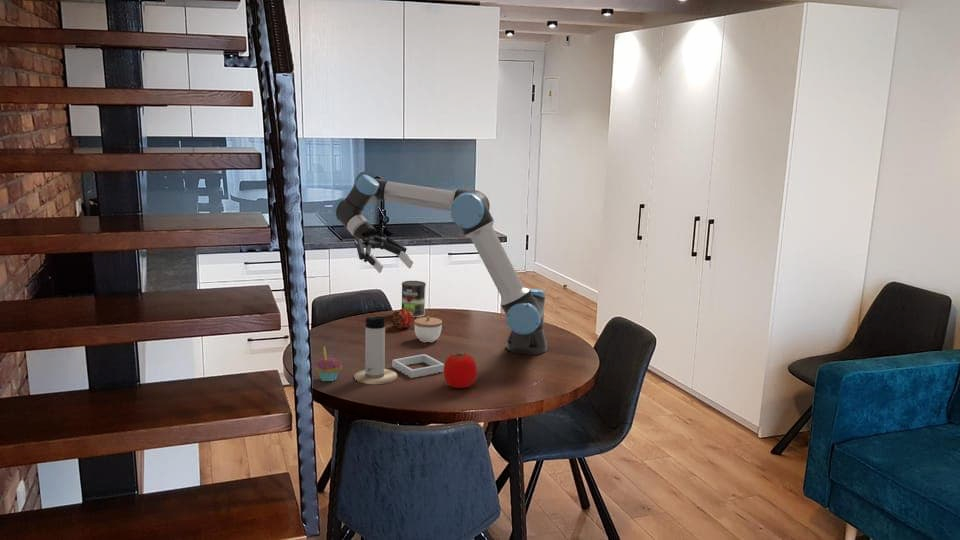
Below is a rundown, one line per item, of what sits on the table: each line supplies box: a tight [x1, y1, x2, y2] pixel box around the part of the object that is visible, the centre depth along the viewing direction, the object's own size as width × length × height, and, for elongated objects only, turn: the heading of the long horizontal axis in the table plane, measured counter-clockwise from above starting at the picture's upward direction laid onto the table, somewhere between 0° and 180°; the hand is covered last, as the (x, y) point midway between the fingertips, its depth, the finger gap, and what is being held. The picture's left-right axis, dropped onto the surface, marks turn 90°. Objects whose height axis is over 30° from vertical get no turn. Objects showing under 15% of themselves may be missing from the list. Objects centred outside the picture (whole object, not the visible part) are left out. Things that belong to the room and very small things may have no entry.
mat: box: [353, 368, 398, 385], centre depth 242 cm, size 14×14×1 cm
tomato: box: [443, 352, 478, 389], centre depth 235 cm, size 10×11×11 cm
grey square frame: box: [391, 353, 445, 379], centre depth 250 cm, size 13×13×2 cm
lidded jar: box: [413, 315, 443, 343], centre depth 283 cm, size 11×11×9 cm
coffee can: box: [401, 280, 427, 318], centre depth 319 cm, size 10×10×14 cm
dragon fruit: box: [390, 308, 415, 330], centre depth 299 cm, size 8×8×12 cm
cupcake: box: [314, 344, 343, 382], centre depth 237 cm, size 9×8×12 cm
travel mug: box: [364, 316, 386, 378], centre depth 239 cm, size 6×7×20 cm
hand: (396, 267), depth 251 cm, fingers open, 13 cm apart
